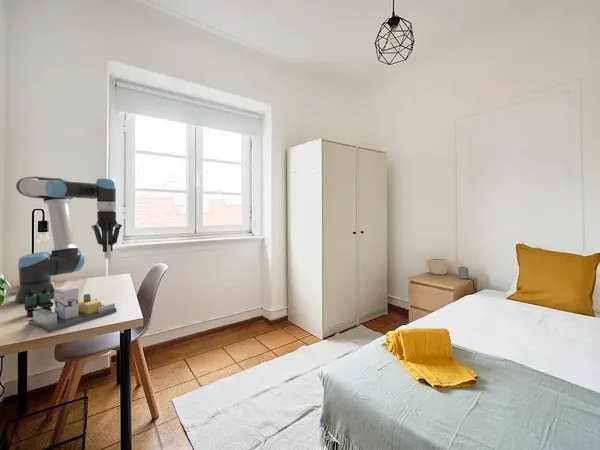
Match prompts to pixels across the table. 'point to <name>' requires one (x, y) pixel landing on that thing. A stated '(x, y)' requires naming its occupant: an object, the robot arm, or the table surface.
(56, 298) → the ink box
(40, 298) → the binoculars
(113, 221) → the robot arm
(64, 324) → the press bed
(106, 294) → the table surface
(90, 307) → the press jaw
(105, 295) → the table surface
